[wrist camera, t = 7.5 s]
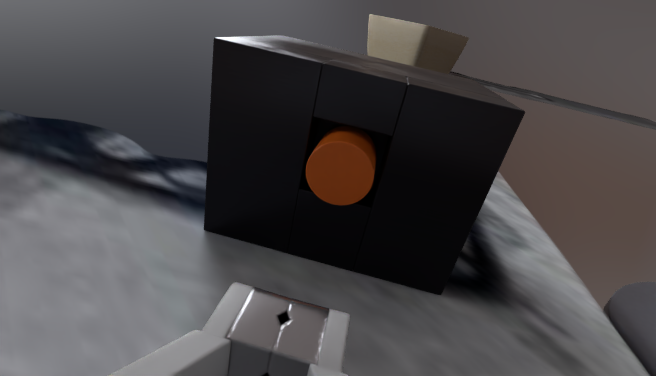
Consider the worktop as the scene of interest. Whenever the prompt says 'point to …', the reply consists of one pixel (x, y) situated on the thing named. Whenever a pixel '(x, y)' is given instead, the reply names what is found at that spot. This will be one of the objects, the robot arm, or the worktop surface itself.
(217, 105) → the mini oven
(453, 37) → the flower pot
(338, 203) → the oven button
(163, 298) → the worktop surface
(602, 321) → the worktop surface
